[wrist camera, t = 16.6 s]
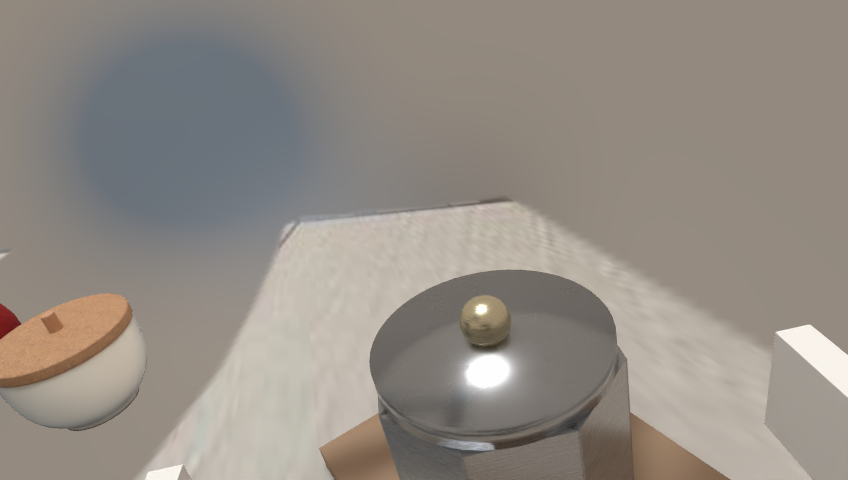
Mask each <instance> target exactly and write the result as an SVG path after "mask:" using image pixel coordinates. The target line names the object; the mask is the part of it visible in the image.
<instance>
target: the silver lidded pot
mask: <svg viewBox="0 0 848 480" xmlns="http://www.w3.org/2000/svg"><path fill="white" fill-rule="evenodd" d="M370 371H371V375H372V378H373V381H374V384H375V387H376V390H377V393H378V408H379V415H378V416H379V419H380V422H381V425H382V428H383V431H384V434H385V437H386V440H387V443H388V446H389V449H390V452H391V455H392V458H393V461H394V464H395V467H396V470H397V473H398V476H399V479H400V480H634V470H633V453H632V436H631V419H630V402H629V385H628V368H627V358H626V357H625V356H624V354H623V353H622V351H621V350H620V348H619V347H618V345H617V337H616V327H615V324H614V321H613V317H612V315H611V314H610V312H609V310H608V308H607V307H606V306H605V305H604V303H603V302H602V301H601V300H600V299H599V298H598V297H597V296H596V295H595V294H593V293H592V292H591V291H589V290H588V289H586V288H585V287H583V286H581V285H579V284H577V283H575V282H573V281H571V280H568V279H565V278H563V277H560V276H556V275H552V274H548V273H543V272H537V271H527V270H496V271H488V272H480V273H475V274H470V275H466V276H462V277H458V278H455V279H452V280H449V281H446V282H443V283H441V284H438V285H436V286H434V287H431V288H429V289H427V290H425V291H424V292H422V293H420V294H418V295H417V296H415V297H413V298H412V299H410V300H409V301H407V302H406V303H405V304H403V305H402V306H401V307H399V308H398V309H397V310H396V311H395V312H394V313H393V314H392V315H391V316H390V317H389V318H388V319H387V321H386V322H385V323H384V324H383V326H382V327H381V329H380V330H379V332H378V333H377V335H376V337H375V340H374V342H373V345H372V348H371V352H370Z"/></svg>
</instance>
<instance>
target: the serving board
mask: <svg viewBox="0 0 848 480" xmlns="http://www.w3.org/2000/svg"><path fill="white" fill-rule="evenodd" d="M378 415H379V413H378V414H376V415H375V416H373V417H371V418H370V419H368V420H366V421H364V422H363V423H361V424H359V425H358V426H356V427H354V428H353V429H351V430H349V431H348V432H346V433H344V434H342V435H341V436H339V437H337V438H336V439H334V440H332V441H331V442H329V443H327V444H326V445H324V446H322V447H320V448H319V449H320V451H321V454H322V456H323V459H324V461H325V463H326V465H327V467H328V469H329V471H330V472H331V474H332V476H333V477H334V479H335V480H400V479H399V476H398V473H397V470H396V467H395V464H394V461H393V458H392V455H391V452H390V449H389V446H388V443H387V440H386V437H385V434H384V431H383V428H382V425H381V422H380V419H379V416H378ZM630 419H631V436H632V453H633V470H634V480H730V479H728V478H727V477H726V476H724V475H723V474H721V473H720V472H718V471H717V470H715V469H714V468H712V467H711V466H709V465H708V464H706V463H705V462H703V461H702V460H700V459H699V458H697V457H696V456H694V455H693V454H691V453H690V452H688V451H687V450H685V449H684V448H682V447H681V446H679V445H678V444H676V443H675V442H673V441H672V440H670V439H669V438H668V437H666V436H665V435H663V434H662V433H660V432H659V431H657V430H656V429H654V428H653V427H651V426H650V425H648V424H647V423H645V422H644V421H642V420H641V419H639V418H638V417H636V416H635V415H633V414H632V413H630Z"/></svg>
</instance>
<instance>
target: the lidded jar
mask: <svg viewBox="0 0 848 480" xmlns="http://www.w3.org/2000/svg"><path fill="white" fill-rule="evenodd" d="M146 357H147V355H146V347H145V342H144V338H143V335H142V333H141V330H140V328H139V326H138V323H137V321H136V319H135V318H134V316H133V314H132V309H131V307H130V305H129V303H128V301H127V299H125V298H124V297H123V296H120V295H117V294H97V295H91V296H87V297H83V298H79V299H76V300H73V301H70V302H67V303H64V304H61V305H59V306H56V307H54V308H52V309H49V310H47V311H45V312H43V313H41V314H39V315H37V316H35V317H33V318H32V319H30V320H28V321H26V322H25V323H23V324H21V325H20V326H18V327H17V328H15V329H14V330H12V331H11V332H10V333H8V334H7V335H6V336H4V337H3V338H2V339H0V395H1V396H2V398H3V399H4V400H5V401H6V402H7V403H8V404H9V405H10V406H11V407H12V408H13V409H14V410H15V411H17V412H18V413H19V414H21V415H22V416H23V417H25V418H26V419H28V420H30V421H32V422H34V423H36V424H39V425H42V426H46V427H51V428H67V429H69V430H73V431H81V430H86V429H90V428H93V427H96V426H98V425H101V424H103V423H105V422H107V421H108V420H110V419H112V418H114V417H115V416H117V415H118V414H119V413H121V412H122V411H123V410H124V409H126V408H127V407H128V406H129V405H130V404H131V403H132V401H133V400H134V399H135V397H136V396H137V394H138V391H139V385H140V383H141V381H142V378H143V375H144V373H145V368H146V362H147V358H146Z"/></svg>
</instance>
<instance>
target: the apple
mask: <svg viewBox="0 0 848 480" xmlns="http://www.w3.org/2000/svg"><path fill="white" fill-rule="evenodd" d="M20 325H21V323H20V322H19V320H18V319H17V317H16V316H15V315H14V314H13V313H12V312H11V311H10V310H9V309H7V308H6V307H5V306H3V305H2V304H0V339H2V338H3V337H4V336H6V335H7V334H8V333H10V332H11V331H12V330H14V329H15V328H17V327H18V326H20Z"/></svg>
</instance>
